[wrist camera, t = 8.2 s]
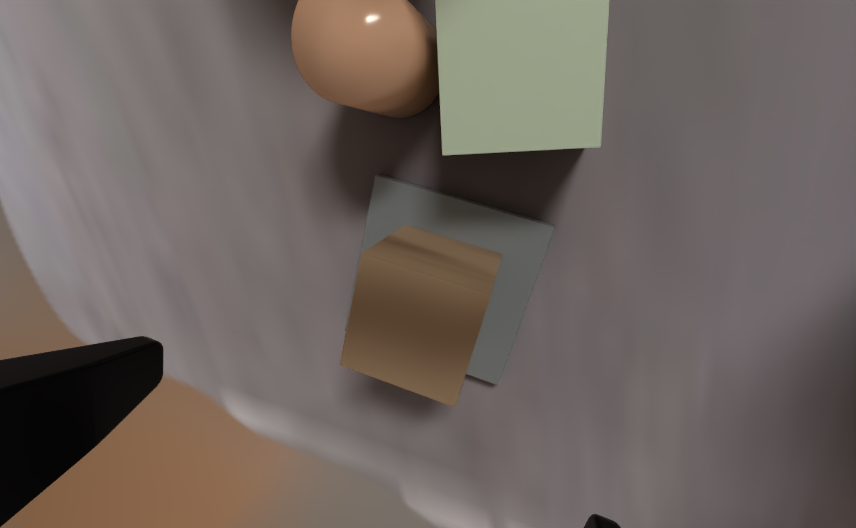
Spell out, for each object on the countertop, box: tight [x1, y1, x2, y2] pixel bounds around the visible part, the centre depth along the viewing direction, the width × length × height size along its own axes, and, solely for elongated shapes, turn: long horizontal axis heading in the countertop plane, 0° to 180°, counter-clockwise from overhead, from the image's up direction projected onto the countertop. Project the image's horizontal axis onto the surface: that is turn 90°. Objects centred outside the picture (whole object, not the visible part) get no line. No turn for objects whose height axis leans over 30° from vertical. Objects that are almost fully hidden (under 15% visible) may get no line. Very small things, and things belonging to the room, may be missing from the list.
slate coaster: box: [345, 174, 555, 385], centre depth 19 cm, size 8×8×1 cm
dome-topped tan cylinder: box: [291, 0, 439, 118], centre depth 15 cm, size 4×4×4 cm
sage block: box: [435, 0, 609, 155], centre depth 14 cm, size 5×5×4 cm
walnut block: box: [340, 225, 502, 407], centre depth 16 cm, size 4×4×5 cm
